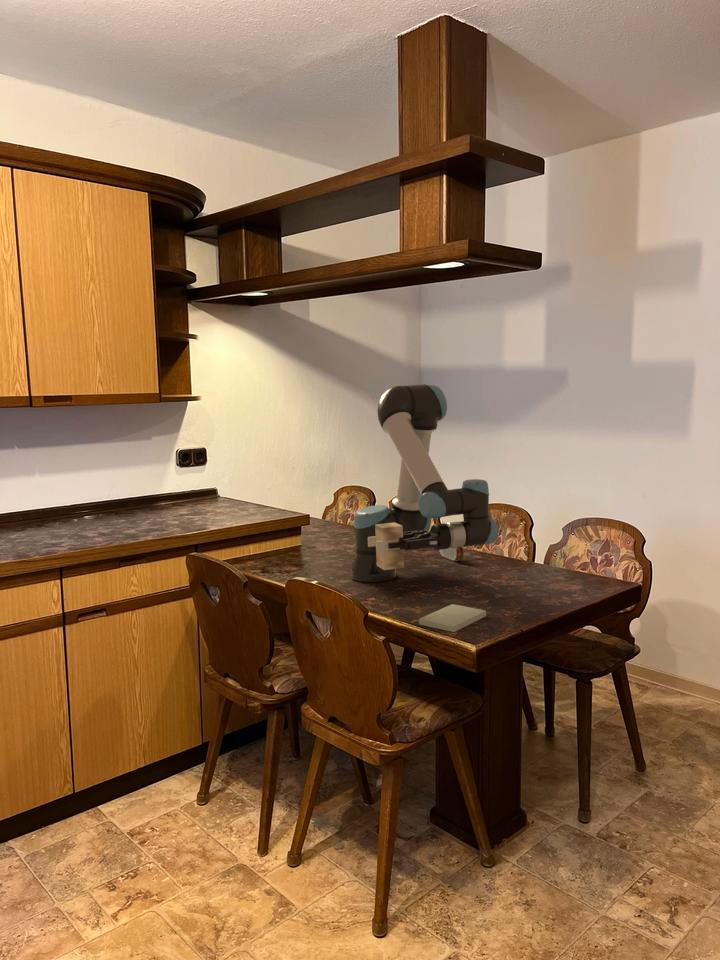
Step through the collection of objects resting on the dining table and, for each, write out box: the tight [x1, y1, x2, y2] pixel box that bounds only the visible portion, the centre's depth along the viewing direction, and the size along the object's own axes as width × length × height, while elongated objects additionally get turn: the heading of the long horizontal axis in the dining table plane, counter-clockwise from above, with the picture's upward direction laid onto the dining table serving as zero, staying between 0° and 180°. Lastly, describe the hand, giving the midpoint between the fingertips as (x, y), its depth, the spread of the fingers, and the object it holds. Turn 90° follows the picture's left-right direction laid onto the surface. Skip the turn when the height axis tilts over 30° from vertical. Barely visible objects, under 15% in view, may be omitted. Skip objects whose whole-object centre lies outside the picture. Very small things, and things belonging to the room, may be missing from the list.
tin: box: [438, 547, 464, 563], centre depth 265 cm, size 15×3×8 cm, turn 22°
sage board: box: [418, 603, 487, 633], centre depth 197 cm, size 16×11×2 cm
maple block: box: [375, 523, 405, 570], centre depth 207 cm, size 6×6×12 cm
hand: (372, 544), depth 206 cm, fingers closed on maple block, 6 cm apart
